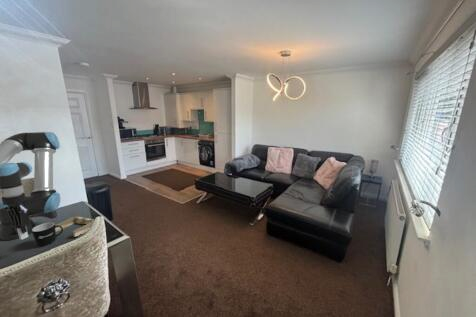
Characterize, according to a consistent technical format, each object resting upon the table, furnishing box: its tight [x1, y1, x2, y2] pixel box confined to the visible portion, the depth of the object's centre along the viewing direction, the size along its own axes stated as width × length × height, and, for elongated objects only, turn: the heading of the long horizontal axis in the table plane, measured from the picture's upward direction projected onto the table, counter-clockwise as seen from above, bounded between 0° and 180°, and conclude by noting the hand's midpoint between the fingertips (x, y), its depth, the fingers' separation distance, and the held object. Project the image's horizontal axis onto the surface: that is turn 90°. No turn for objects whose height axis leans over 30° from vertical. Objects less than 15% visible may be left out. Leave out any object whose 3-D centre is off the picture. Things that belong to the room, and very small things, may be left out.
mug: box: [31, 222, 64, 247], centre depth 111 cm, size 12×9×10 cm
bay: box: [55, 215, 96, 238], centre depth 123 cm, size 19×14×4 cm
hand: (24, 237), depth 100 cm, fingers closed
